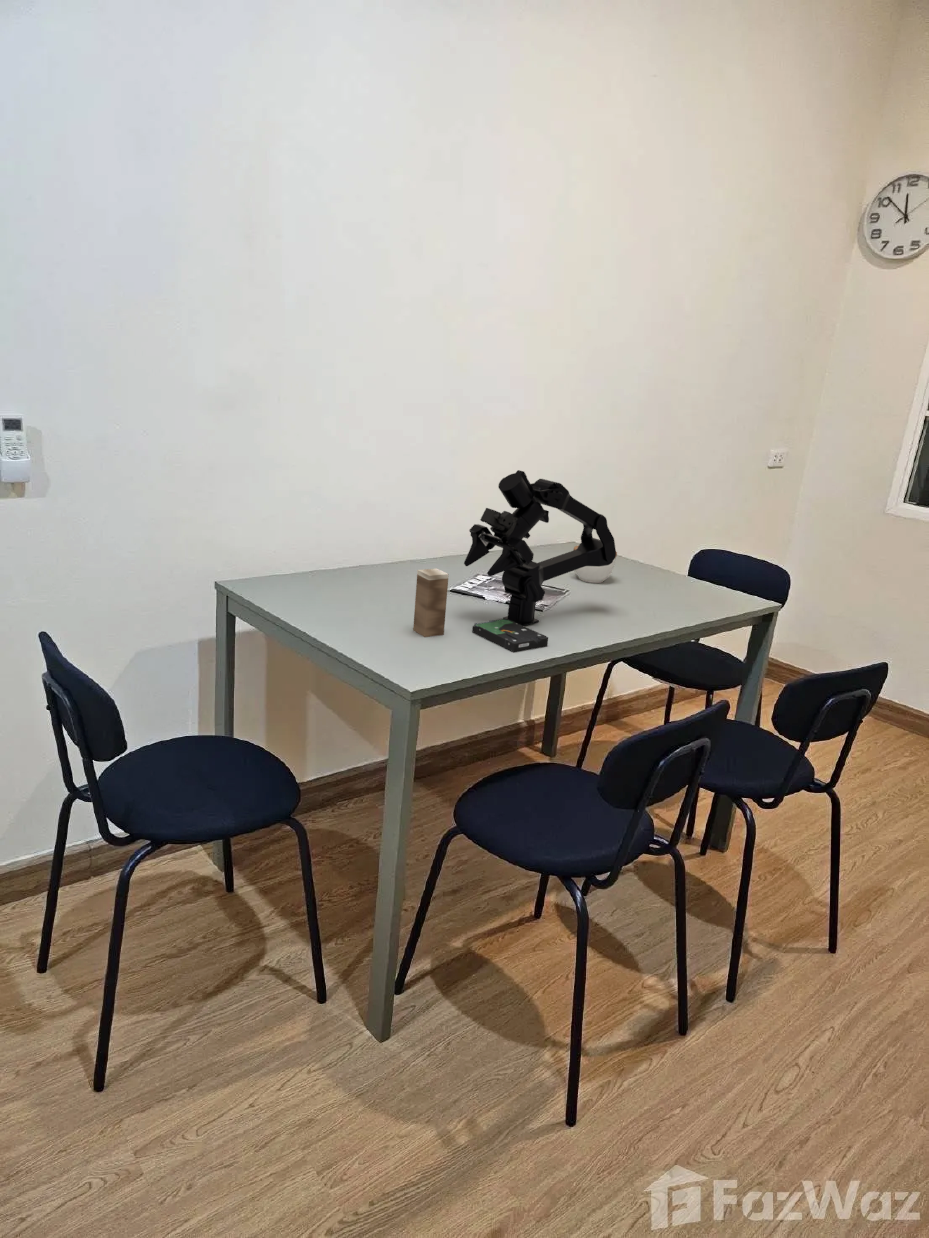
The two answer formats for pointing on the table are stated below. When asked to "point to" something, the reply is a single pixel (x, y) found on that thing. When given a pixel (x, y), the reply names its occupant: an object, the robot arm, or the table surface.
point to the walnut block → (430, 602)
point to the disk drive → (510, 635)
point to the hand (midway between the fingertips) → (476, 569)
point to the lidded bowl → (595, 572)
